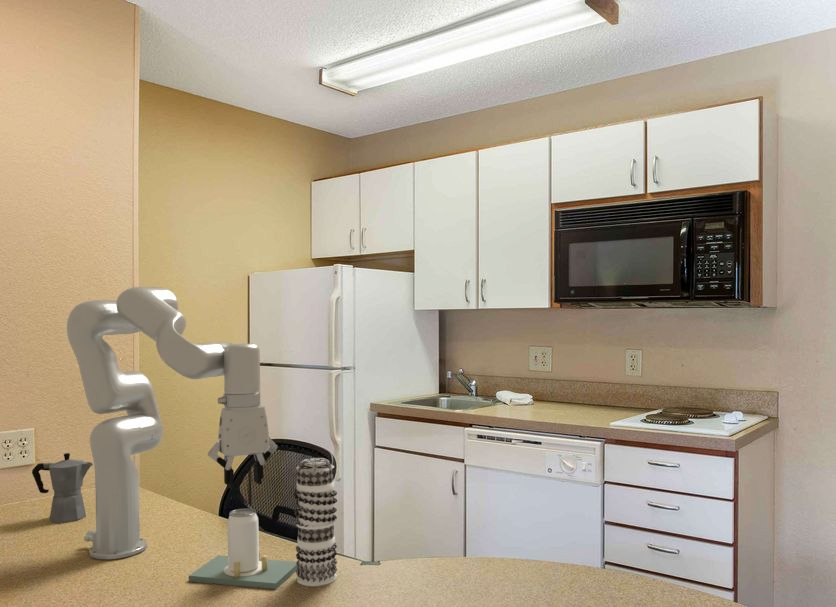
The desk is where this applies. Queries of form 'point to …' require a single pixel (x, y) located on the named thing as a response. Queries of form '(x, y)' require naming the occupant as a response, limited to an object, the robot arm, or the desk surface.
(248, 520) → the can
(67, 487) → the coffeepot
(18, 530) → the desk surface
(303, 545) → the decorative candle
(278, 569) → the green board with pegs
